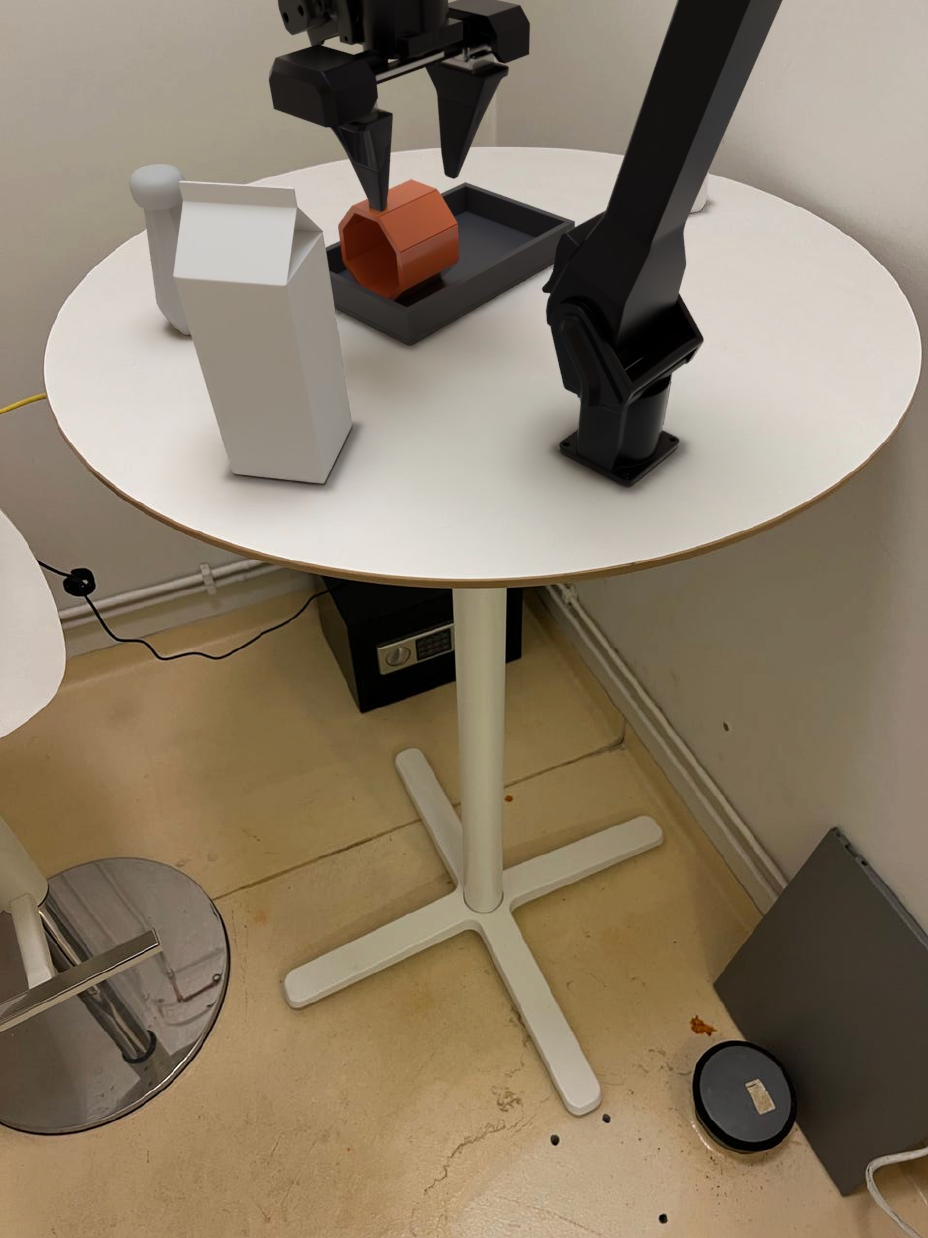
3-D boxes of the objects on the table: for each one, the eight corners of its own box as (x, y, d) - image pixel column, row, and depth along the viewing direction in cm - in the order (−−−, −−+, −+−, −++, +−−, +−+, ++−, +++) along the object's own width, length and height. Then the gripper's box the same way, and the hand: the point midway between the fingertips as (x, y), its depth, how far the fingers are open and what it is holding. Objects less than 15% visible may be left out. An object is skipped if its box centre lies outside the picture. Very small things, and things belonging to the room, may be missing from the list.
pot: (460, 285, 78) (406, 315, 74) (400, 259, 81) (346, 286, 78) (455, 127, 68) (392, 154, 64) (387, 105, 71) (324, 129, 68)
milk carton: (325, 486, 60) (272, 214, 46) (232, 475, 61) (151, 207, 47) (353, 426, 65) (313, 163, 50) (266, 417, 66) (202, 157, 51)
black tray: (409, 345, 72) (407, 313, 70) (302, 291, 79) (296, 260, 76) (573, 252, 82) (575, 220, 80) (466, 211, 89) (465, 181, 87)
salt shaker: (244, 317, 76) (207, 164, 66) (197, 347, 73) (151, 191, 63) (198, 300, 78) (156, 150, 68) (151, 328, 75) (100, 175, 65)
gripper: (415, -119, 58) (428, 130, 70) (187, -70, 49) (246, 204, 61) (539, -102, 53) (531, 164, 64) (308, -44, 44) (347, 251, 56)
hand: (416, 192), depth 62 cm, fingers open, 7 cm apart
